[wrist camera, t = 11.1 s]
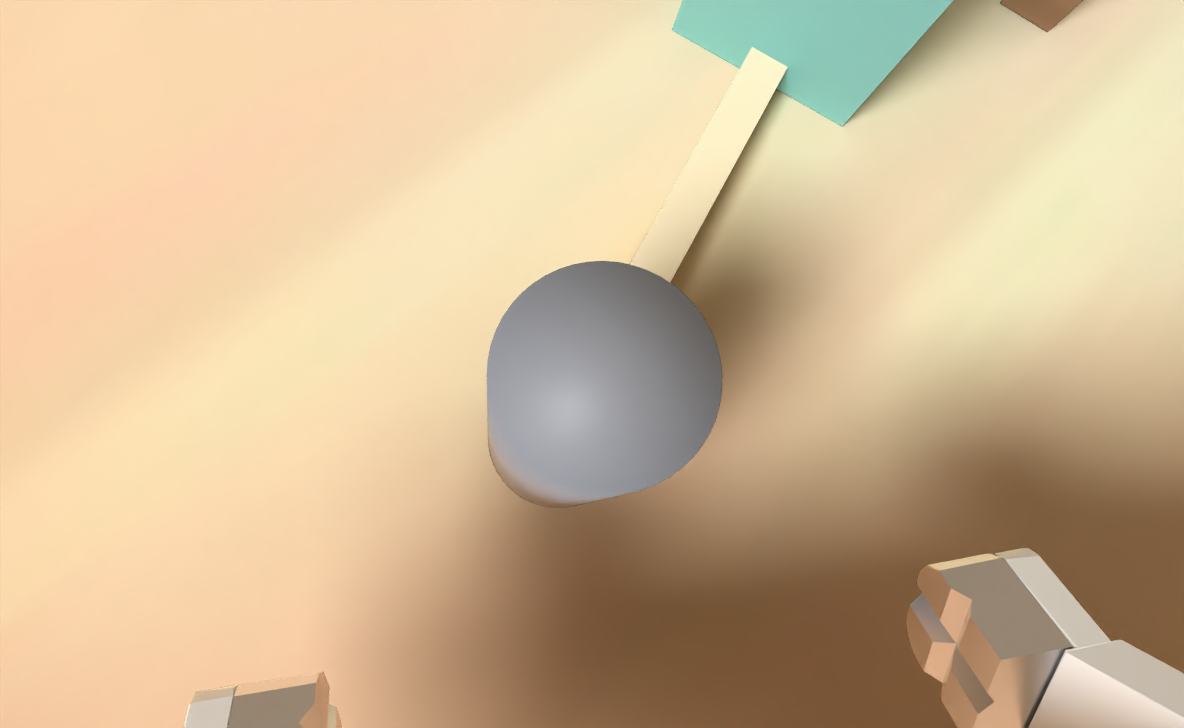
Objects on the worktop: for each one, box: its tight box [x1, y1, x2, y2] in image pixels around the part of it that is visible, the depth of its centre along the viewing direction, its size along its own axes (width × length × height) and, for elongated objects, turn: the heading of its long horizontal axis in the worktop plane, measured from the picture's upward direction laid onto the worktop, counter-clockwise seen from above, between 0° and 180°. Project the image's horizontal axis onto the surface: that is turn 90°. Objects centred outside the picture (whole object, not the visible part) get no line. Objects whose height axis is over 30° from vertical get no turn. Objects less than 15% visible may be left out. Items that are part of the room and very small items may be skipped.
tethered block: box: [487, 0, 953, 508], centre depth 16 cm, size 17×5×9 cm, turn 151°
